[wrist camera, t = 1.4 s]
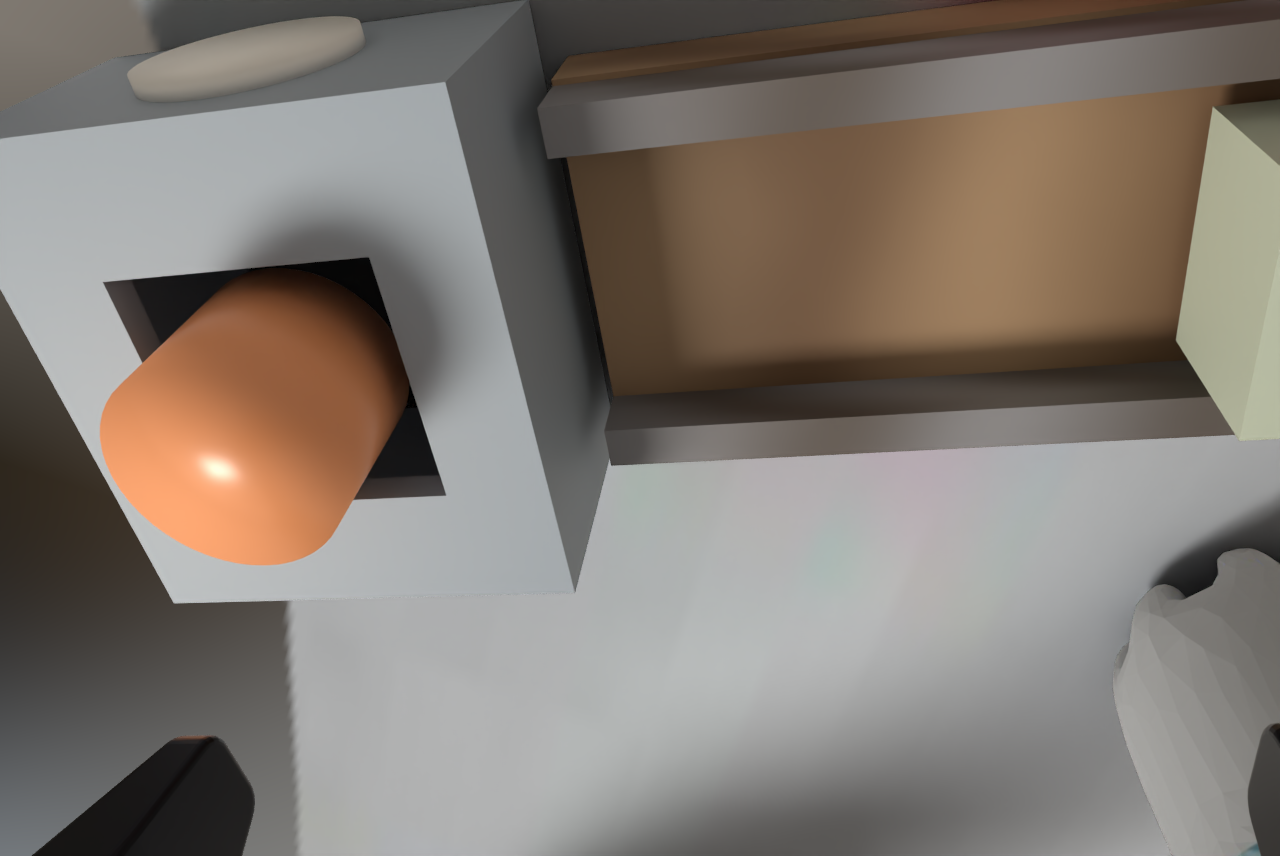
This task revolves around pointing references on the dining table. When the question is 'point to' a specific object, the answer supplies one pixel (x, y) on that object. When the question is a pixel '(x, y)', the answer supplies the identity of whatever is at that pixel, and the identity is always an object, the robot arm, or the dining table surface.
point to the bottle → (1203, 701)
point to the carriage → (1237, 270)
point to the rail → (904, 225)
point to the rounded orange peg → (258, 417)
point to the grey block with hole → (324, 231)
